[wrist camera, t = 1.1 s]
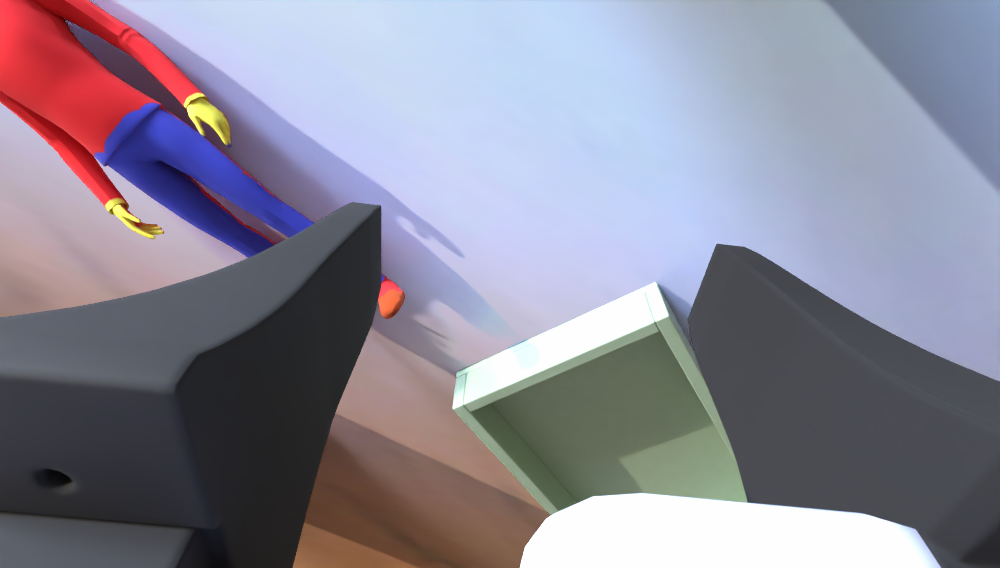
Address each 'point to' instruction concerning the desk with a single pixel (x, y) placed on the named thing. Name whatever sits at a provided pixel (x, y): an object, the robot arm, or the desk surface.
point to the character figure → (133, 127)
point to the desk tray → (603, 409)
